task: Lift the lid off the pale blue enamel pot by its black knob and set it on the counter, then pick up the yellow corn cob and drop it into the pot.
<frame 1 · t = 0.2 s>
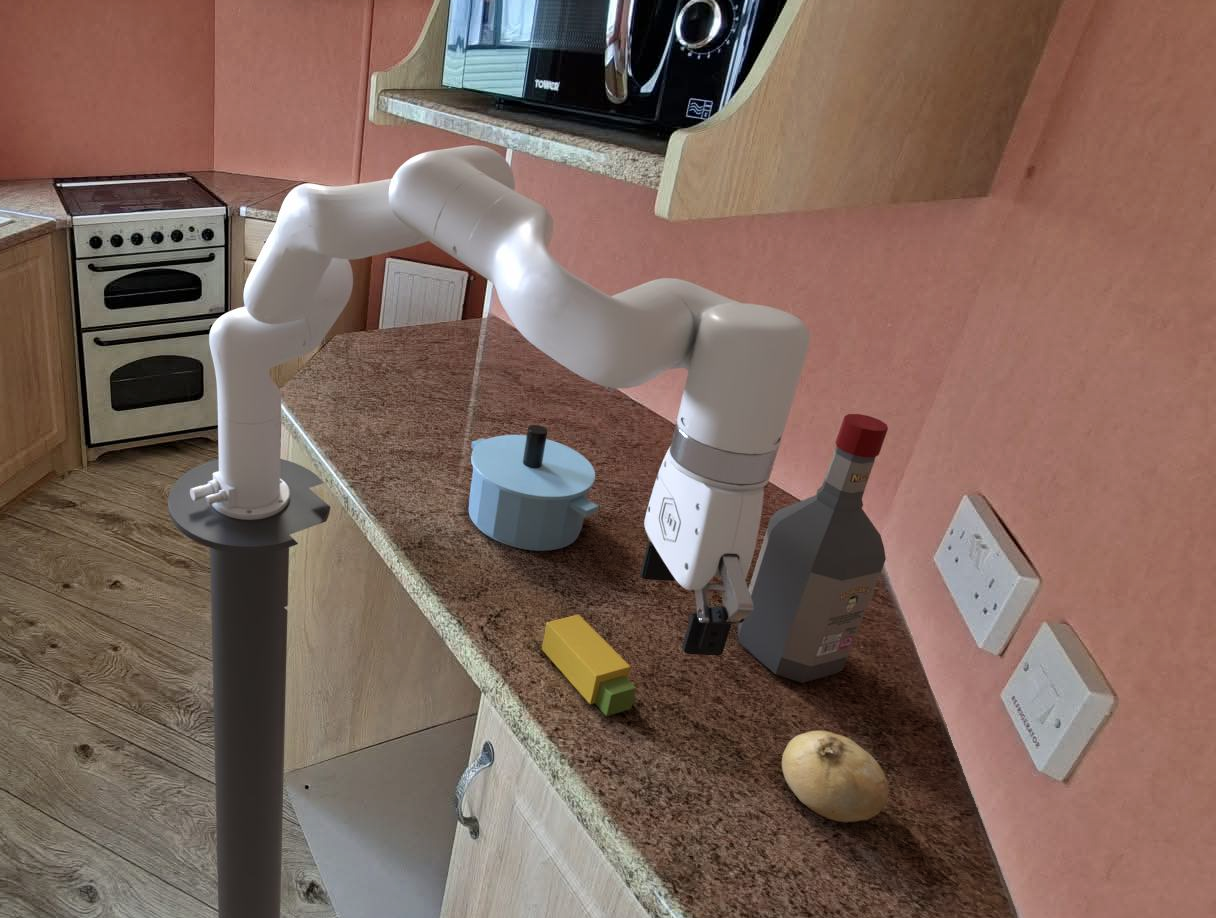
hand: (678, 613, 73), 17 cm above the worktop, tool pointing down, fingers open, 9 cm apart
corn: (581, 671, 88), on the worktop
lid: (531, 467, 112), point 8 cm above the worktop, touching pot
pot: (523, 517, 115), on the worktop
onion: (824, 799, 74), on the worktop
liquor: (785, 653, 91), on the worktop
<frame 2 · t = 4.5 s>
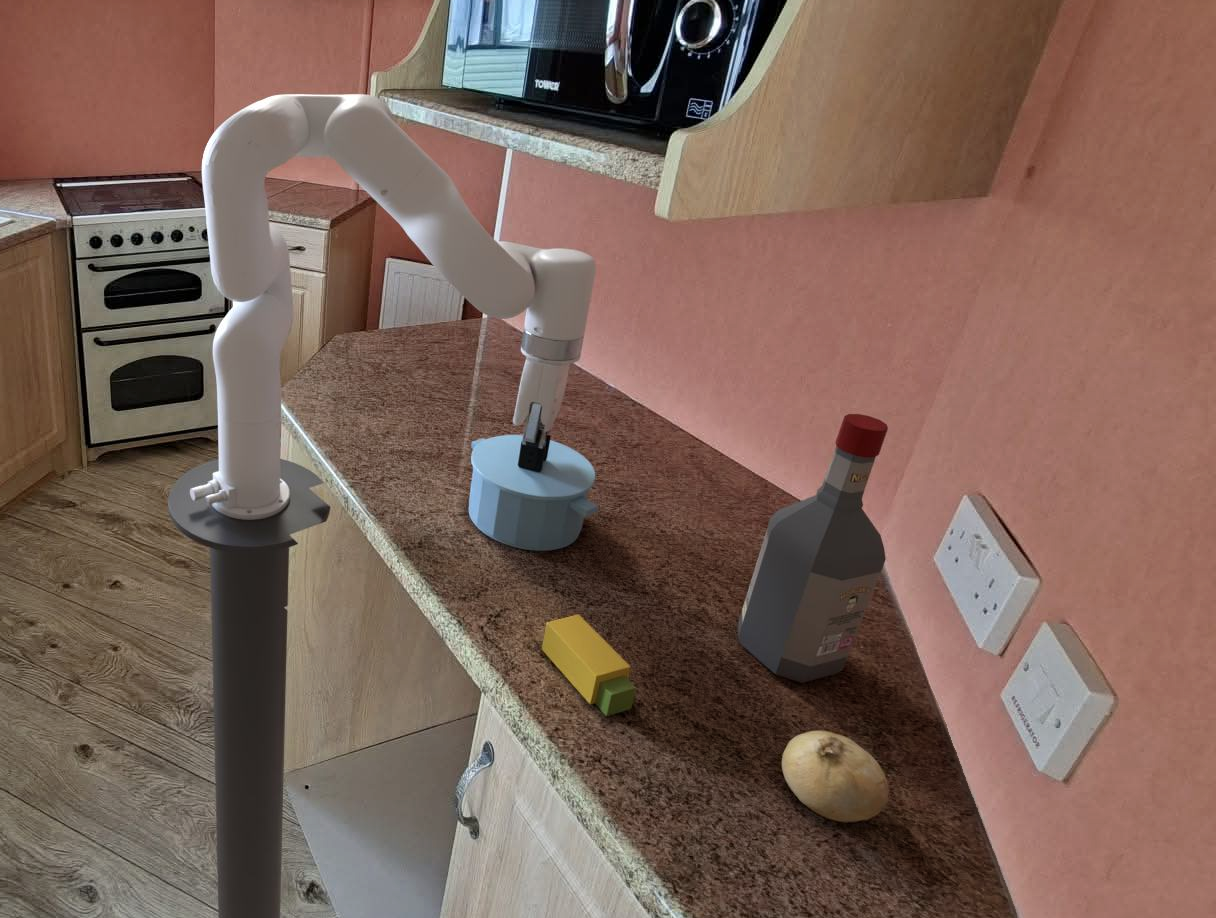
hand: (532, 462, 112), 9 cm above the worktop, tool pointing down, fingers closed on lid, 2 cm apart
lid: (531, 467, 112), point 8 cm above the worktop, touching gripper, pot
everything else where it was.
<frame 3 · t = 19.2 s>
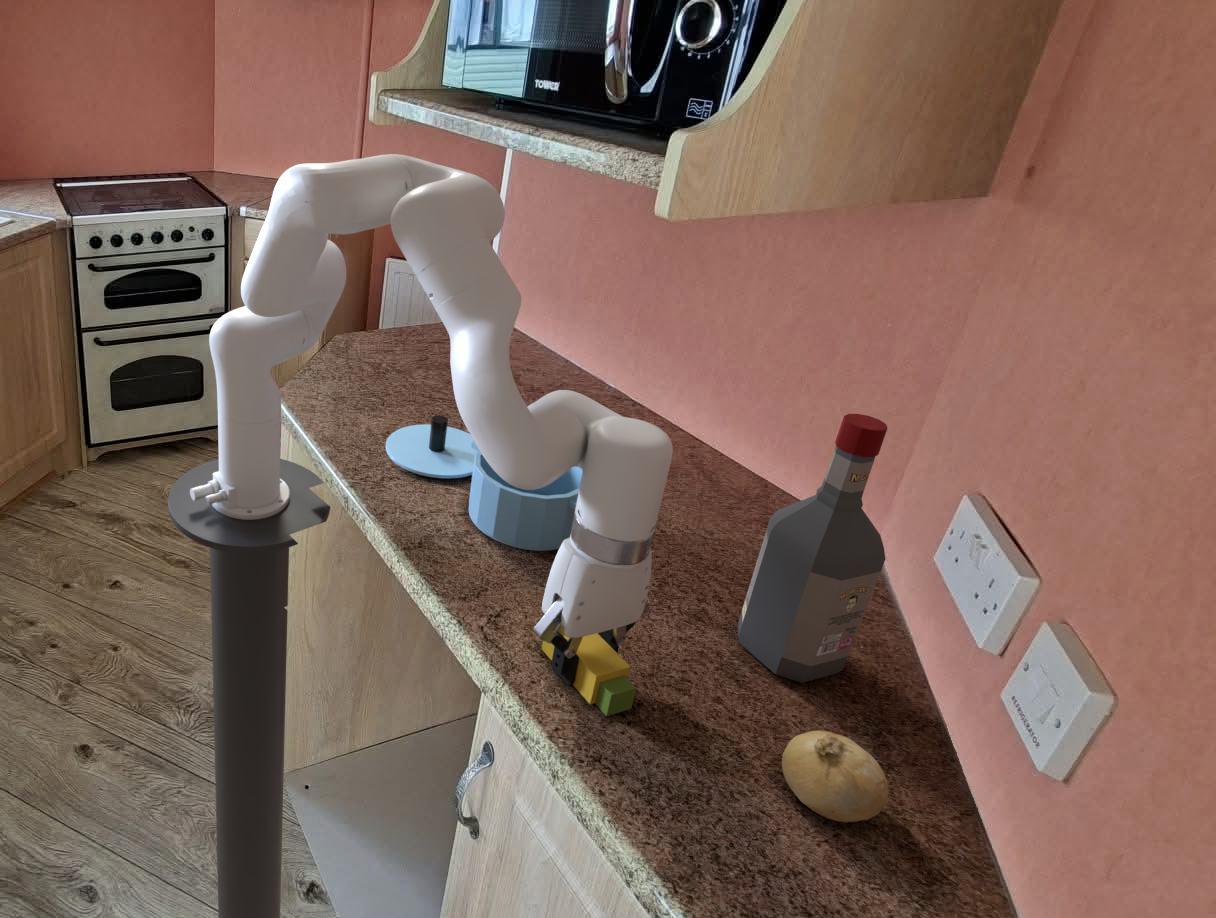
hand: (581, 668, 88), 0 cm above the worktop, tool pointing down, fingers closed on corn, 4 cm apart
corn: (581, 671, 88), on the worktop, touching gripper
lid: (436, 451, 131), point 1 cm above the worktop
everything else where it was.
when the fingers open (7 cm above the worktop, at t = 26.6 s): corn drops 6 cm, resting on pot.
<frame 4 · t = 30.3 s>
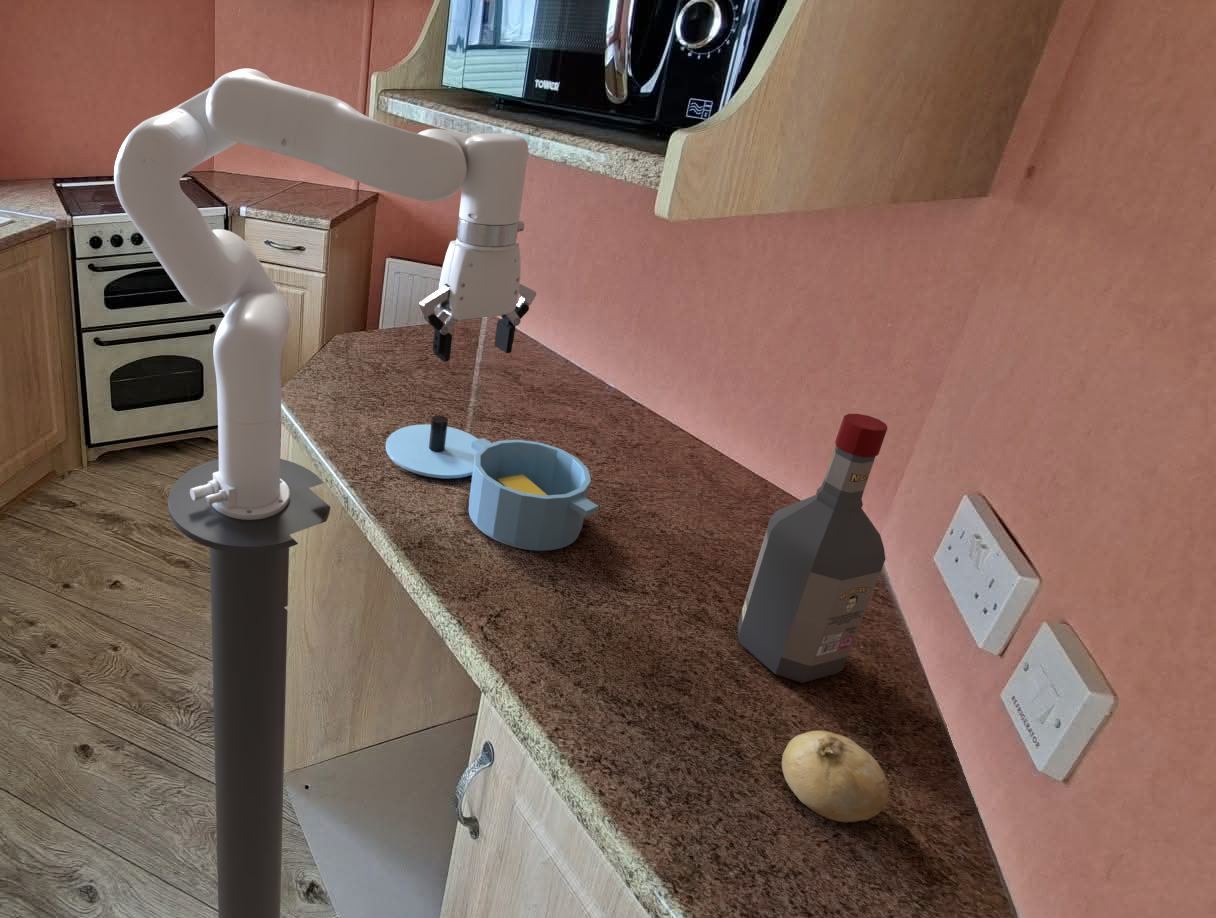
hand: (472, 353, 109), 24 cm above the worktop, tool pointing down, fingers open, 9 cm apart
corn: (523, 514, 115), resting on pot
everything else where it was.
at the end: lid inside the target area (0.1 cm from its centre), point 0.6 cm above the worktop; corn inside the target area in the pot (0.1 cm from its centre), point 0.5 cm above the pot's base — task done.
